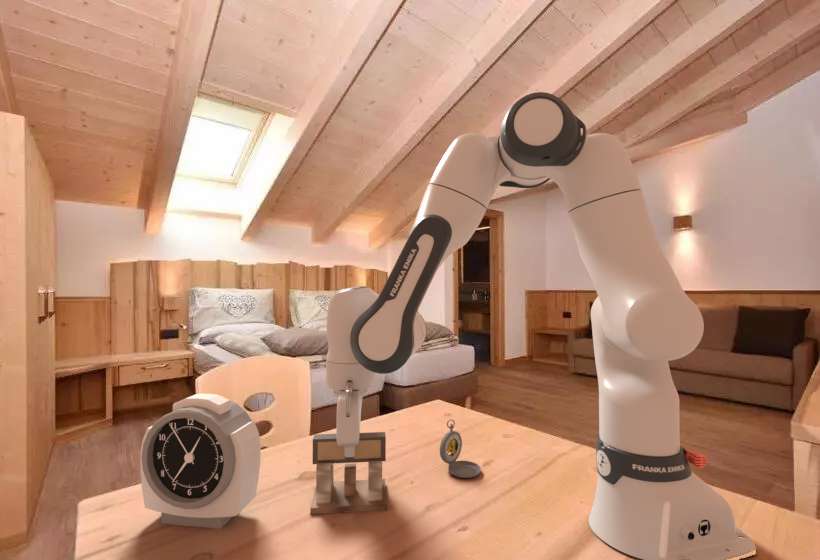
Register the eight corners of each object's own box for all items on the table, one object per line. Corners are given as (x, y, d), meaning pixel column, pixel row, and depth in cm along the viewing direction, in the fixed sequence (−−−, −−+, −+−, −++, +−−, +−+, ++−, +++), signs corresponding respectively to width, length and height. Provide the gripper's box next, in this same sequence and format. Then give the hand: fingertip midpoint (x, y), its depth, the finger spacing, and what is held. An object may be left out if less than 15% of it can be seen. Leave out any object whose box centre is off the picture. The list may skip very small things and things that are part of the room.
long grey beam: (385, 455, 75) (385, 432, 75) (385, 461, 73) (385, 437, 73) (314, 458, 74) (314, 434, 74) (312, 464, 71) (312, 439, 71)
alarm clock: (132, 527, 64) (134, 400, 65) (171, 499, 73) (172, 387, 73) (237, 537, 62) (238, 405, 62) (264, 506, 70) (265, 391, 70)
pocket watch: (480, 481, 79) (480, 430, 80) (438, 477, 81) (438, 427, 81) (481, 463, 87) (481, 417, 88) (442, 460, 89) (442, 415, 89)
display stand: (384, 484, 78) (384, 445, 78) (387, 509, 69) (387, 466, 69) (317, 487, 77) (317, 448, 77) (310, 514, 68) (310, 469, 68)
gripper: (367, 389, 63) (367, 477, 63) (367, 364, 84) (367, 430, 84) (327, 390, 63) (326, 479, 63) (337, 364, 83) (336, 431, 83)
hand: (350, 451), depth 73 cm, fingers closed on long grey beam, 2 cm apart
